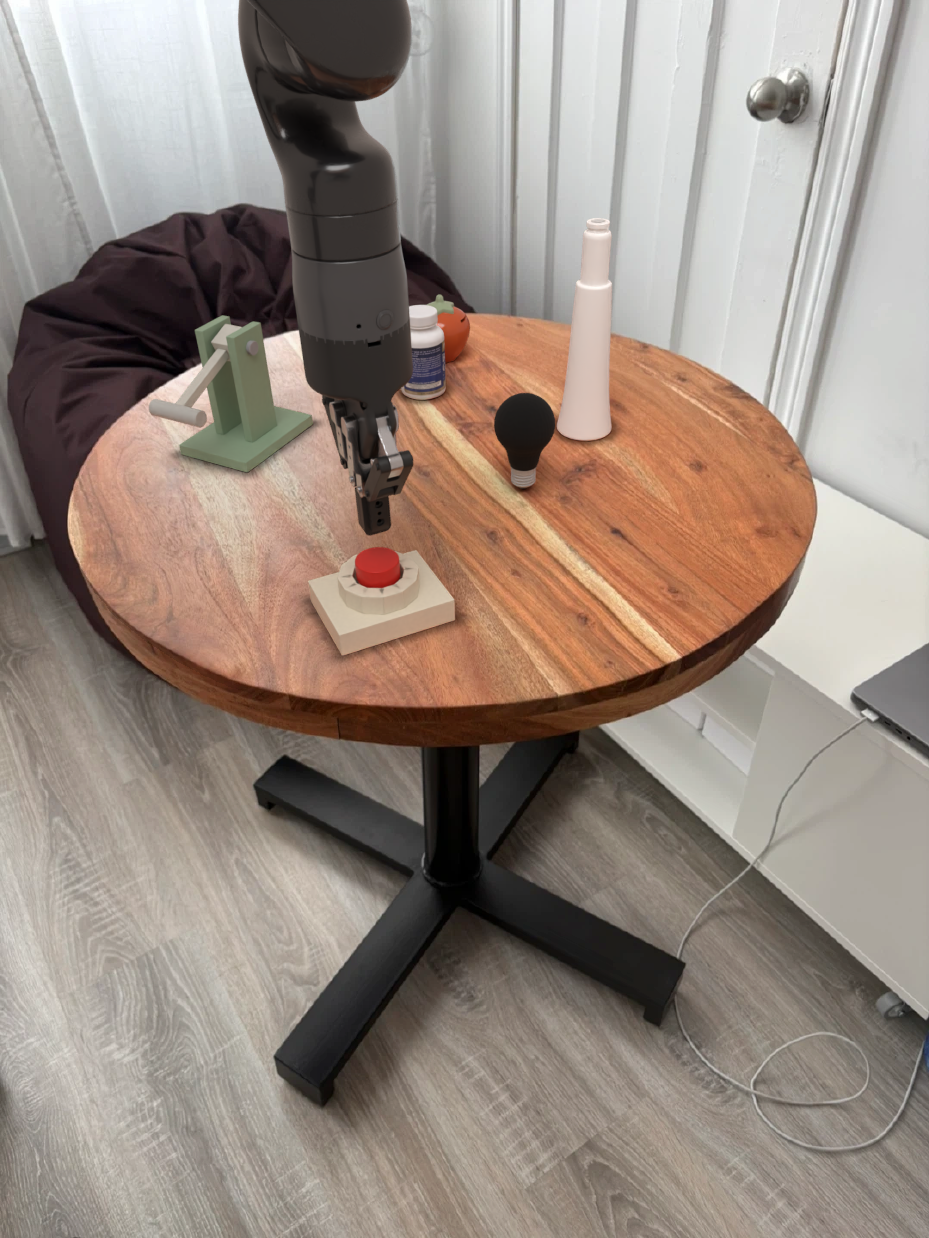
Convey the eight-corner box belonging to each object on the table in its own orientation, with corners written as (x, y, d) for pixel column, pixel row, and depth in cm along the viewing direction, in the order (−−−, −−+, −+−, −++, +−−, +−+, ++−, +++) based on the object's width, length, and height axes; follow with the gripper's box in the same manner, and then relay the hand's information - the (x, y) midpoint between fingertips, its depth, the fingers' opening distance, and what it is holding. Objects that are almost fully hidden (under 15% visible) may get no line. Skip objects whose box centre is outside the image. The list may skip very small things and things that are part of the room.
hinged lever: (201, 433, 90) (191, 416, 88) (155, 421, 93) (143, 404, 91) (265, 347, 95) (256, 329, 93) (219, 338, 98) (210, 320, 96)
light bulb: (523, 510, 90) (525, 416, 83) (481, 487, 93) (481, 395, 87) (564, 488, 93) (569, 396, 86) (522, 467, 96) (525, 376, 90)
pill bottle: (453, 394, 110) (451, 314, 103) (412, 405, 108) (407, 323, 101) (434, 377, 113) (430, 299, 107) (394, 387, 111) (388, 307, 105)
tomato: (470, 368, 115) (469, 305, 110) (411, 369, 115) (407, 306, 110) (470, 344, 121) (469, 283, 116) (414, 345, 121) (410, 284, 116)
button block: (342, 656, 74) (336, 617, 71) (310, 601, 79) (304, 563, 77) (455, 620, 77) (454, 582, 74) (417, 569, 82) (415, 532, 80)
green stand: (247, 473, 96) (225, 356, 88) (180, 454, 100) (153, 340, 91) (313, 424, 104) (298, 313, 96) (249, 408, 108) (230, 300, 100)
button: (365, 594, 74) (364, 577, 73) (350, 570, 76) (348, 553, 75) (407, 582, 75) (406, 564, 74) (390, 559, 78) (389, 542, 76)
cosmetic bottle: (605, 444, 99) (623, 232, 85) (550, 437, 101) (559, 227, 87) (616, 420, 104) (635, 214, 90) (564, 413, 105) (574, 210, 91)
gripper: (271, 292, 65) (304, 501, 76) (332, 361, 56) (360, 587, 67) (370, 274, 68) (388, 479, 79) (445, 337, 58) (453, 559, 69)
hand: (375, 528), depth 73 cm, fingers closed
